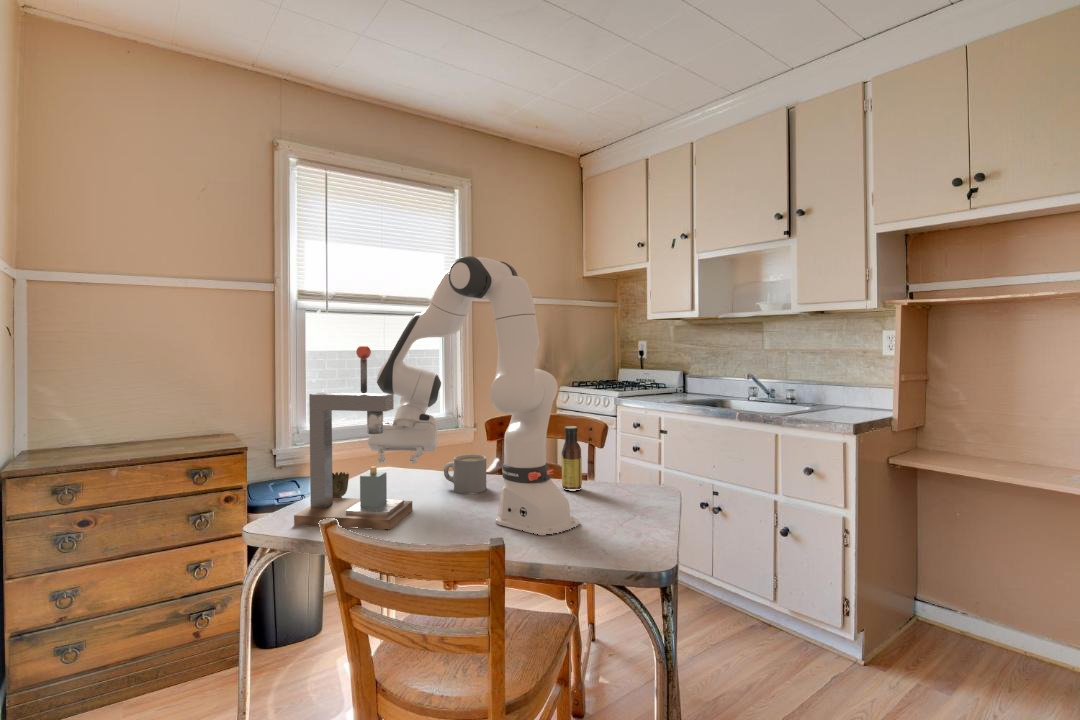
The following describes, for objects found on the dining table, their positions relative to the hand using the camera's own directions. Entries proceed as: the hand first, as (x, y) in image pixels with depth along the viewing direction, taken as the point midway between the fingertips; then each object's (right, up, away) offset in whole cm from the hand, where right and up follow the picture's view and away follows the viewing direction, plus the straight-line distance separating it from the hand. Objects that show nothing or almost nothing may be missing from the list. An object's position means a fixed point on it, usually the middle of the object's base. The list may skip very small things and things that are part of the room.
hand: (396, 461), depth 158 cm
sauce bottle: (+51, -12, +16) cm, 54 cm away
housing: (-3, -9, -12) cm, 15 cm away
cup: (-18, -12, +1) cm, 22 cm away
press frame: (-8, -10, -12) cm, 18 cm away
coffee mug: (+17, -12, +16) cm, 26 cm away
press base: (-8, -12, -12) cm, 19 cm away
